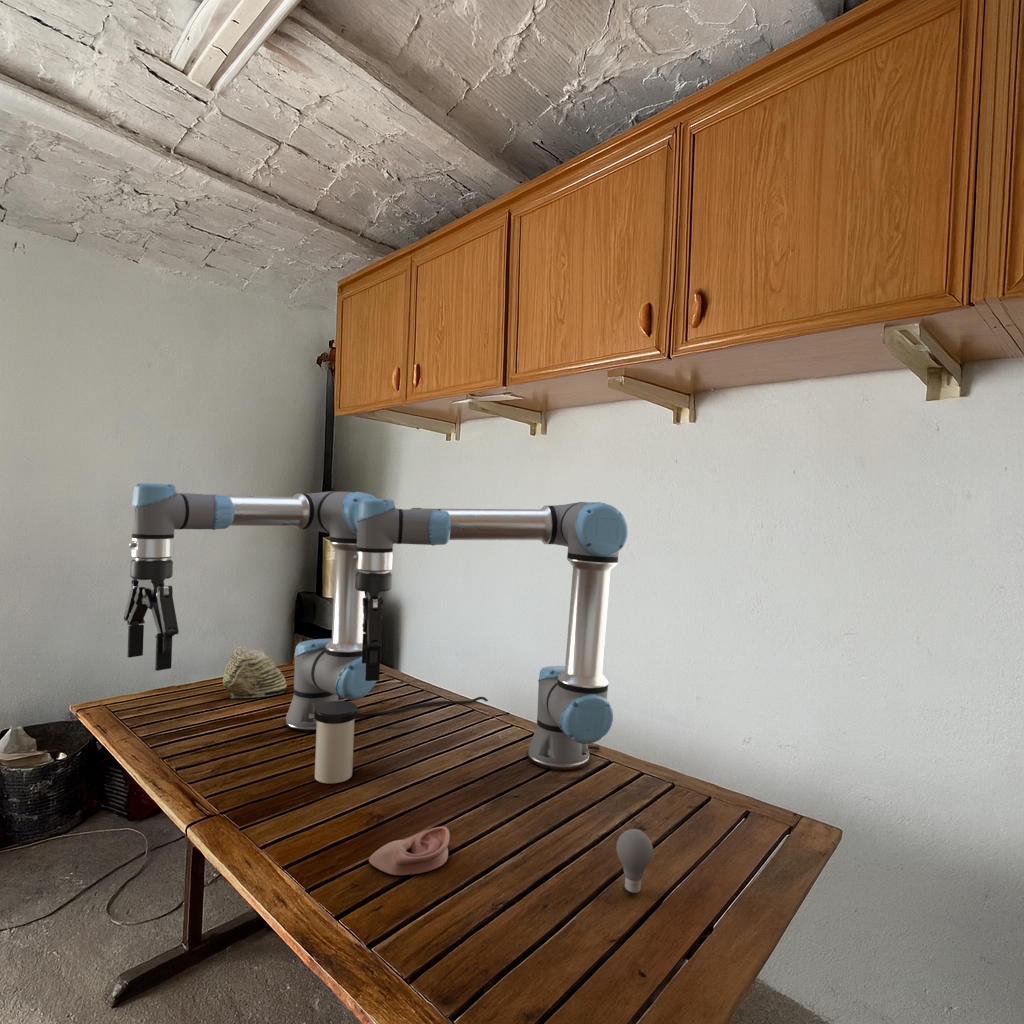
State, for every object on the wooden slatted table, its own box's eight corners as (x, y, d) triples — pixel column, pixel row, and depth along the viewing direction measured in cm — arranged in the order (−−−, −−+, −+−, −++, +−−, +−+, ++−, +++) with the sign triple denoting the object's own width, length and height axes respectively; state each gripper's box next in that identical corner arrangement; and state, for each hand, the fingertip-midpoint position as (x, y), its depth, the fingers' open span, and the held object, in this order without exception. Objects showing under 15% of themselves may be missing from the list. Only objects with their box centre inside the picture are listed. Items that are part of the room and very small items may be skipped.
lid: (319, 709, 148) (320, 700, 148) (360, 710, 149) (360, 701, 149) (309, 723, 139) (309, 713, 139) (352, 724, 140) (353, 714, 140)
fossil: (218, 695, 195) (220, 647, 195) (278, 685, 208) (279, 640, 207) (228, 703, 189) (230, 653, 188) (289, 692, 201) (290, 645, 201)
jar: (319, 767, 148) (321, 702, 148) (355, 767, 149) (358, 703, 148) (310, 783, 140) (312, 715, 139) (348, 783, 140) (351, 716, 140)
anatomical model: (361, 846, 108) (388, 814, 119) (360, 870, 108) (387, 835, 119) (436, 859, 105) (456, 825, 117) (435, 882, 105) (455, 846, 117)
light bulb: (610, 879, 108) (613, 822, 108) (644, 879, 109) (647, 822, 109) (619, 902, 102) (622, 840, 102) (655, 901, 103) (658, 840, 103)
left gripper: (108, 554, 134) (104, 654, 134) (159, 565, 118) (155, 678, 119) (146, 552, 140) (143, 648, 140) (199, 563, 124) (195, 671, 124)
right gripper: (353, 564, 145) (349, 656, 145) (358, 579, 121) (354, 689, 121) (386, 565, 147) (383, 656, 147) (398, 579, 123) (393, 687, 123)
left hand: (148, 662), depth 129 cm, fingers open, 13 cm apart
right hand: (370, 671), depth 134 cm, fingers open, 13 cm apart
